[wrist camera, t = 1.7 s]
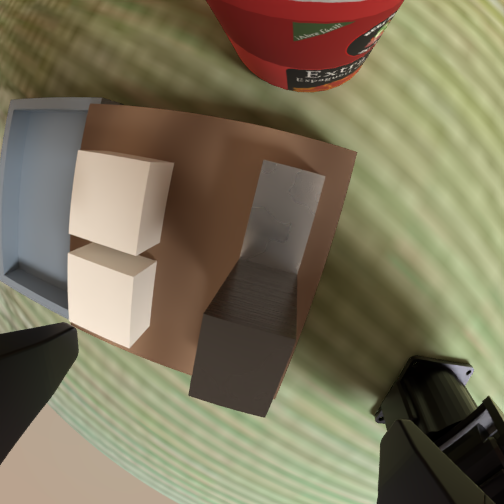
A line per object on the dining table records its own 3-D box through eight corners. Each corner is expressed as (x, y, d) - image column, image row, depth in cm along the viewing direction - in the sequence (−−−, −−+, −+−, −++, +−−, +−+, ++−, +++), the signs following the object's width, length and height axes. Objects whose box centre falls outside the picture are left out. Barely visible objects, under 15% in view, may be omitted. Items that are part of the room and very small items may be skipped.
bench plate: (344, 156, 16) (357, 152, 12) (278, 365, 20) (274, 399, 16) (121, 111, 17) (89, 103, 13) (98, 304, 21) (71, 325, 17)
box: (123, 104, 17) (102, 97, 14) (98, 310, 21) (79, 324, 18) (32, 102, 17) (10, 99, 15) (18, 271, 22) (0, 280, 19)
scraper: (320, 175, 13) (347, 179, 6) (259, 375, 16) (237, 476, 9) (268, 161, 13) (239, 150, 6) (218, 363, 16) (178, 459, 9)
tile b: (157, 261, 15) (133, 277, 13) (149, 326, 16) (129, 348, 14) (95, 241, 15) (67, 252, 13) (93, 303, 16) (69, 320, 14)
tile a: (174, 162, 14) (150, 162, 11) (159, 242, 15) (135, 255, 12) (107, 150, 14) (78, 149, 12) (97, 223, 15) (68, 233, 13)
